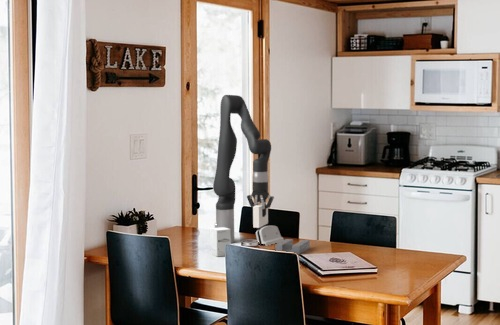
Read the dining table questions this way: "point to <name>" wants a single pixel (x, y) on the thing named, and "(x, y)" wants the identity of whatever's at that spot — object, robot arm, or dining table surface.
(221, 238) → the supplement box
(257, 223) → the door panel
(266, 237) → the hinge
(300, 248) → the door track
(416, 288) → the dining table surface
